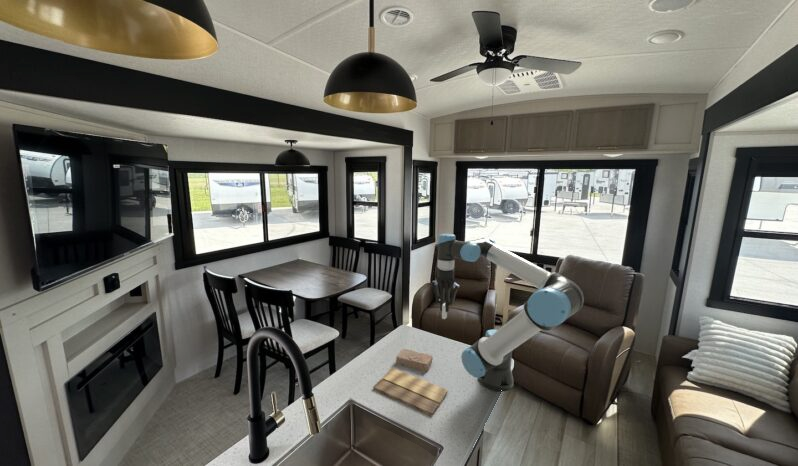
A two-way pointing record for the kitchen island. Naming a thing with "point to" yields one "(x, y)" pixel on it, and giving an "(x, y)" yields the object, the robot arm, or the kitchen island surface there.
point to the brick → (414, 359)
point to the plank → (416, 385)
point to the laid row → (406, 397)
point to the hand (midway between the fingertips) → (444, 317)
